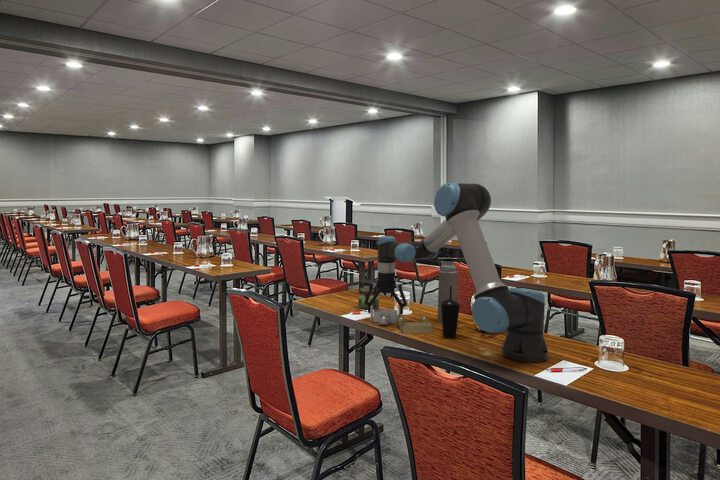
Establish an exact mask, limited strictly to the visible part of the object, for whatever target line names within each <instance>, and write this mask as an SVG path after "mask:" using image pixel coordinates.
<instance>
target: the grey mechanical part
mask: <svg viewBox="0 0 720 480" xmlns="http://www.w3.org/2000/svg"><path fill="white" fill-rule="evenodd" d="M397 317H398V309H381V308H379V309H375V310H374V311H373V320H372V322H379V323H378V324H379V326H389V323H392V324H394V325H398V324H397Z"/></svg>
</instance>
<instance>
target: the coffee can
mask: <svg viewBox="0 0 720 480" xmlns="http://www.w3.org/2000/svg"><path fill="white" fill-rule="evenodd" d="M371 283H377V279H372V278H367V279H366V278H365V279H359V280H358V307H357V308H359V309H362V310H368V305H365V304H364V302H365V299H366V297H367V294H368V292H369V290H370V284H371ZM378 290H379V289H378V288H377V286H375V288H373V290H372V293H371V295H370V297H369V300H368V302H370V301H371V300H372V298H373V297H374V296H375V294H376V293H377V291H378ZM371 305H373V310H375V309H380V294H379V295H378V296H377V298H376V299H375V300H374V302H373V303H372V304H371ZM359 309H358V310H359Z"/></svg>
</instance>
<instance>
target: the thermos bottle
mask: <svg viewBox="0 0 720 480" xmlns="http://www.w3.org/2000/svg"><path fill="white" fill-rule="evenodd" d="M439 269H440V270H438V286H437V291H438V293H437V295H438V296H437V298H438V299H437V322H438V323H439V324H442V310H441V303H440V302H441V301H444V300H447V299H450V286H452V295H451V299H453V300H456V301H458V300H457V298H458V297H457V296H458V295H457V294H458V271H456V270H457V267H456V265H455V258H448V257H446V258H442V265H440V267H439Z"/></svg>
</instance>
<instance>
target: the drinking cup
mask: <svg viewBox="0 0 720 480" xmlns="http://www.w3.org/2000/svg"><path fill="white" fill-rule="evenodd" d="M451 295H452V286H450V299H447V300H444V301H441V302H440V303H441V310H442V323H441V325H442V337H443V338H445V339H448V340H449V339H456V337H457V329H458V322H459V313H460V305H461V302H460V301H459V300H457V301H456V300H453V299H451Z"/></svg>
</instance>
